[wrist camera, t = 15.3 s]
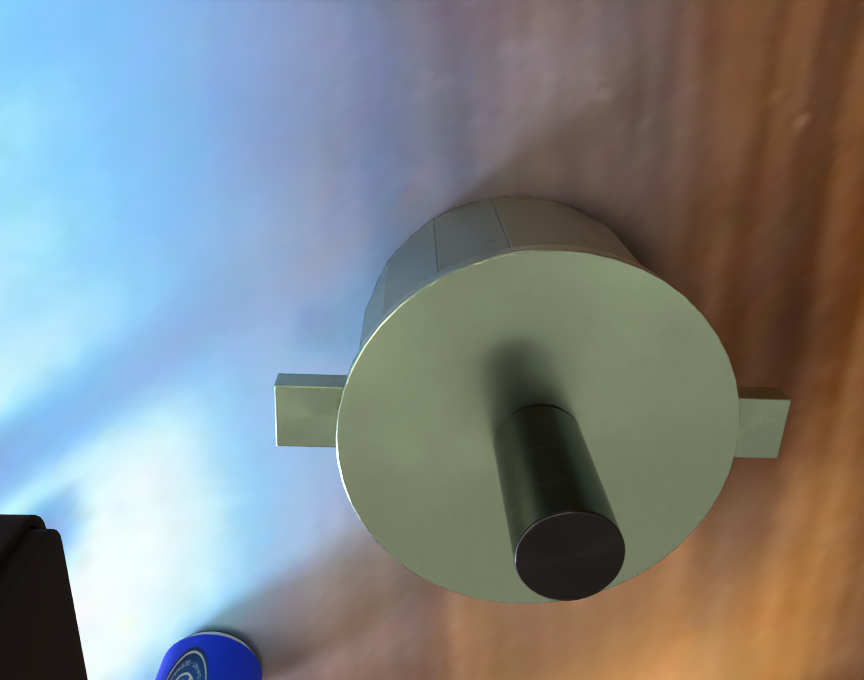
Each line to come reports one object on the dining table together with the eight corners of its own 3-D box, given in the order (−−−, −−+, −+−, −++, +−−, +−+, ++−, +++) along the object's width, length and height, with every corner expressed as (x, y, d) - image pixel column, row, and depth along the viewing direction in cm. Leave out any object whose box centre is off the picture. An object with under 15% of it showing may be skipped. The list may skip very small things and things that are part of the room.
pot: (300, 188, 33) (264, 246, 25) (736, 204, 33) (836, 266, 25) (306, 456, 37) (277, 576, 30) (686, 465, 38) (757, 585, 30)
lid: (337, 230, 25) (310, 312, 19) (763, 245, 26) (885, 329, 19) (339, 579, 30) (318, 739, 24) (692, 586, 31) (768, 745, 24)
